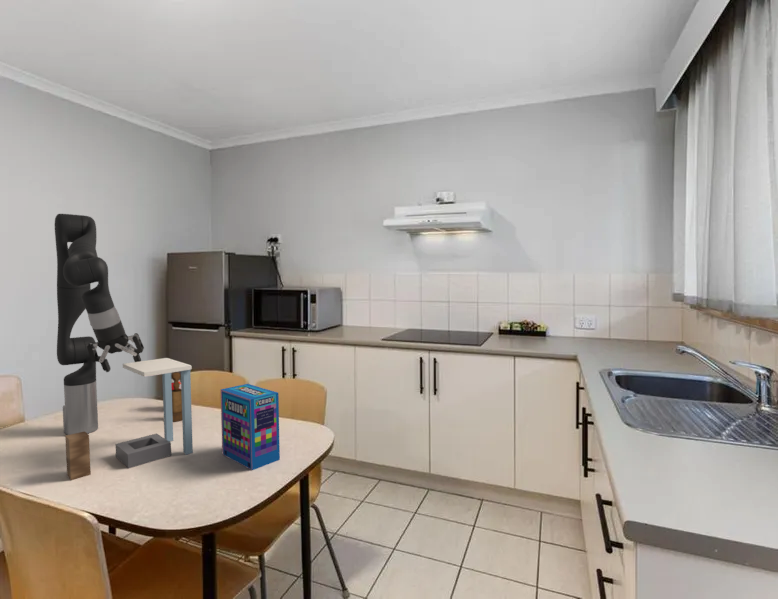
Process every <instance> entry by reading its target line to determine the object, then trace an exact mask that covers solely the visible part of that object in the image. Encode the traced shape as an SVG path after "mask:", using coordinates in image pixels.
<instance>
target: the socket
mask: <svg viewBox="0 0 778 599" xmlns="http://www.w3.org/2000/svg"><path fill="white" fill-rule="evenodd" d="M171 444H172V441H168V440H166V439H164V437H163V436H161V435H160V434H159V433H154V434H149V435H146V436H141V437H137V438H133V439H130V440H125V441H122V442H118V443H115V458H117V459H118V460H119V462H121V463H122V464H123V465H124V466H125V467H126V468H127V469H131V468H134V467H137V466H141V465H144V464H148V463H151V462H154V461H158V460H161V459H165V458H167V457H168V458H169V457H171V456H172V445H171Z"/></svg>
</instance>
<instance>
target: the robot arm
mask: <svg viewBox="0 0 778 599" xmlns="http://www.w3.org/2000/svg"><path fill="white" fill-rule="evenodd" d="M54 239H55V248H56V250H55V251H56V260H57V261H56V264H57V266H56V268H57V270H56V271H57V272H56V299H57V300H56V302H57V317H58V318H57V323H58V324H57V336H56V359H57V362H58V364H59V365H61V366H70V365H71V366H73V365H80V364H82V366H81V367H80V368H78V369H77V370H74V371H73V372H71V373H68V374H66V375H65V376H64V377H63V393H64V394H63V395H64V405H63V406H62V419H63V420H62V423H63V426H62V427H63V434H66V435H71V434H75V433H80V432H84V431H85V432H86V433H87V434H91V433H93V432H95V431H98V429H99V416H98V415H99V413H98V410H99V409H98V394H97V393H98V390H97V363H99V364H100V365H101V367H102V370H103V371H104V372H106V373H109V372H110V371H111V366H110V364H109V361H108V359H107V355H108V354H116V353H121V352H125V353H126V354H130V355H132V358H133V360H134V361H133V362H140V361H142V358H141V355H140V354H142V353H143V351H144V349H145V347H144V345H143V342H142V340H141V337H140V335H139V334H138V333H134V334H132V335H127V333H126V330H125V328H124V325H123V322H122V320H121V317H120V314H119V312H118V309H117V308H116V306H115V303H114V301H113V298H112V294H111V292H110V287H109V268H108V264H107V262H106V261H105V260H104V259H103V258H101V257H98V253H97V250H96V249H97V248H96V247H97V224H96V221H95V220H94V218H93V217H92V216H89V215H83V214H82V215H80V214H71V213H70V214H69V213H58V214H56V216H55V218H54ZM68 243H70V245H69V246H68ZM94 283H97V285H96V286H95V287H94V288H92V287H91V286H92V285H91V284H94ZM85 310H86V313H87V318H88V320H89V325H90V326H91V328H92V331H93V333H94V336H95V338H94V337H92V336H88V335H87V336H80V337H79V336H77V337H71V333H72V330H73V328H74V326H75V324H76V322H77V321H78V319H79V318H80V316H81V315H82V314H83V313H84V312H85ZM95 339H96V340H97V342H96V340H95ZM129 341H130V342H132V343H133V344H134V345H135V346H133V345H132V344H131V343H130V342H129ZM98 348H100V349H102V353H101V355H98V351H97V349H98Z"/></svg>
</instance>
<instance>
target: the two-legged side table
mask: <svg viewBox="0 0 778 599" xmlns="http://www.w3.org/2000/svg"><path fill="white" fill-rule="evenodd" d="M122 368H123V369H125V370H127V371H130V372H132V373H134V374H136V375H140V376H141V377H144V378H146V377H152V376H158V375H159V376H160V375H161V376H162V377H161V378H162V404H163V406H162V408H163V436H164V437H163V438H164V439H166V440H168V441H169V442H173V441H174V422H173V416H172V385H171V379H172V374H173V373H174V372H180V375H181V376H180V382H181V393H182V421H181V423H182V424H181V425H182V447H183V448H182V451H183V454H185V455H189V454H193V453H194V452H193V451H194V447H193V444H194V443H193V418H192V416H193V415H192V412H193V411H192V390H191V389H192V383H191V370H192V369H193V368H192V365H191V364H188V363H185V362H182V361H179V360H175V359H172V358H169V357H163V358H156V359H148V360H141V361H140V362H135V361H133V362H132V361H131V362H126V363H122Z"/></svg>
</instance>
